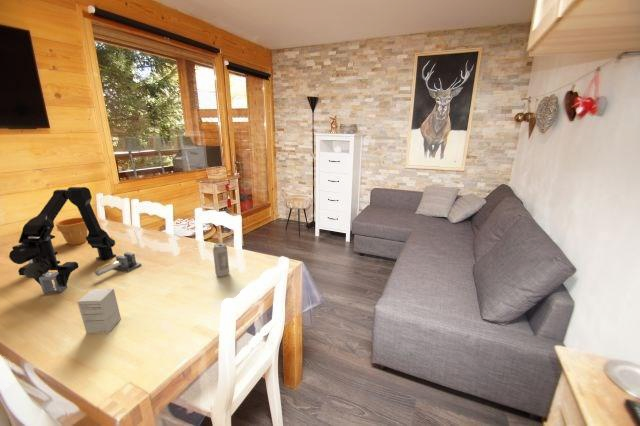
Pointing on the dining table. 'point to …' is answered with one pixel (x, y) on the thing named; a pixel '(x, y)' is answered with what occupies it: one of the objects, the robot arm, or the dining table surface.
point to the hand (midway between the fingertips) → (54, 286)
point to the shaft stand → (119, 264)
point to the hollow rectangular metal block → (48, 285)
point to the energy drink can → (221, 259)
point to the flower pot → (73, 230)
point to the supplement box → (99, 310)
